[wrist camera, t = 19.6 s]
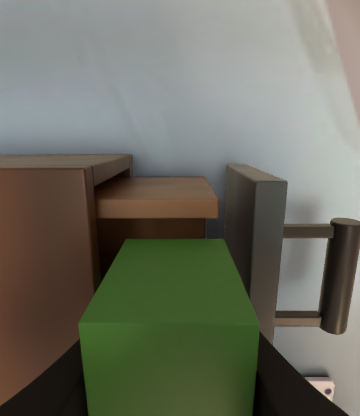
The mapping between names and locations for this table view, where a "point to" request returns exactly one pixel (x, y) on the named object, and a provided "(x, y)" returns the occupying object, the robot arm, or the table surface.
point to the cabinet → (47, 257)
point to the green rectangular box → (170, 333)
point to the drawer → (232, 236)
